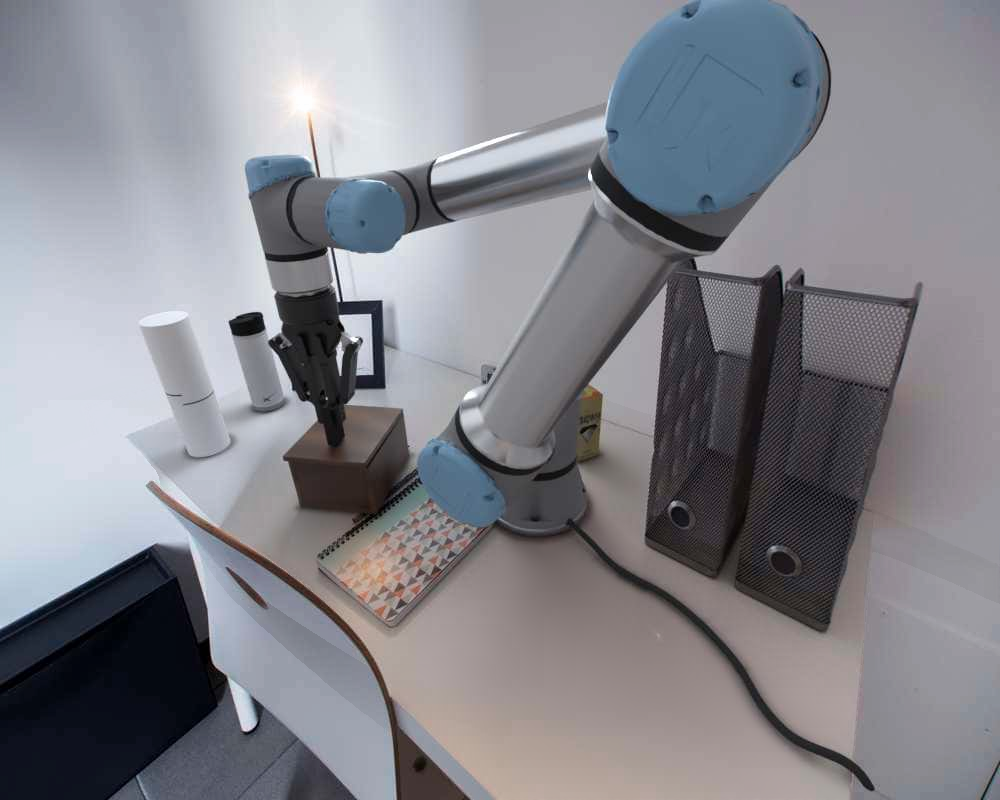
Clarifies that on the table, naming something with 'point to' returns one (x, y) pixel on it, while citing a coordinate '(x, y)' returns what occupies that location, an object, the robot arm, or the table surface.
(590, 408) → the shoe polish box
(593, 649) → the table surface
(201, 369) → the cylindrical container
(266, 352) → the travel mug
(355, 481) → the keepsake box
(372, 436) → the lid
